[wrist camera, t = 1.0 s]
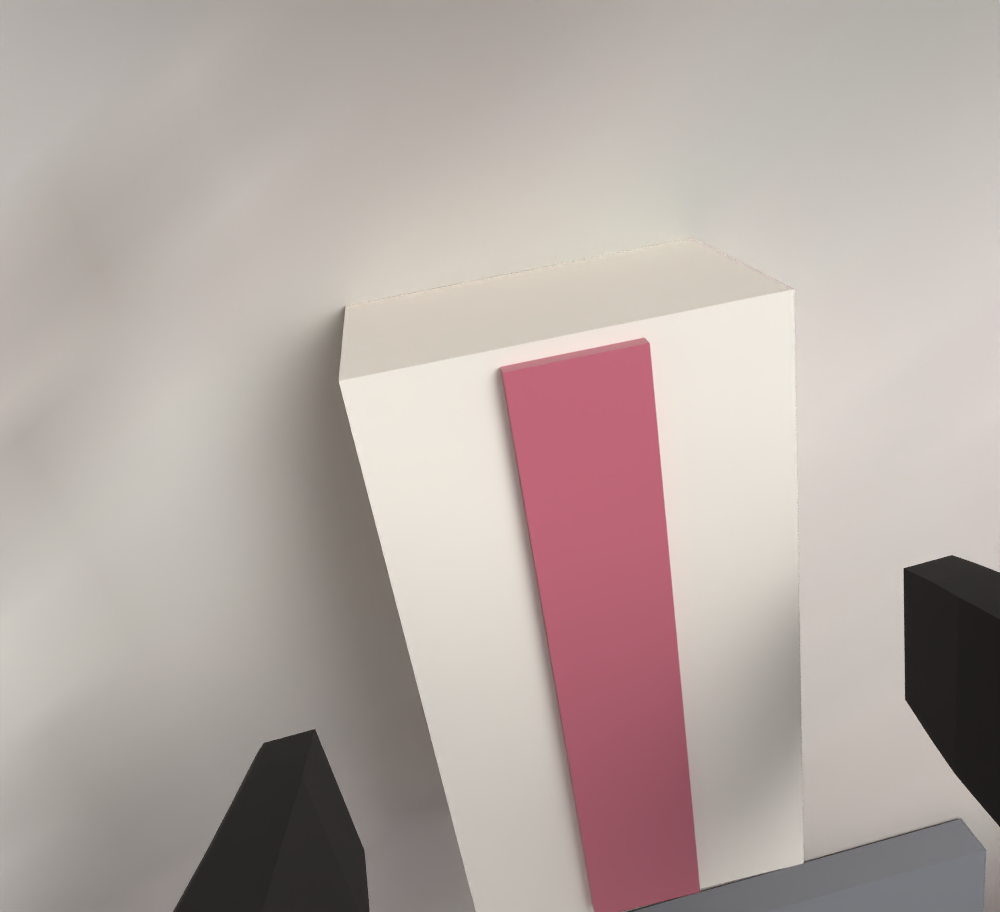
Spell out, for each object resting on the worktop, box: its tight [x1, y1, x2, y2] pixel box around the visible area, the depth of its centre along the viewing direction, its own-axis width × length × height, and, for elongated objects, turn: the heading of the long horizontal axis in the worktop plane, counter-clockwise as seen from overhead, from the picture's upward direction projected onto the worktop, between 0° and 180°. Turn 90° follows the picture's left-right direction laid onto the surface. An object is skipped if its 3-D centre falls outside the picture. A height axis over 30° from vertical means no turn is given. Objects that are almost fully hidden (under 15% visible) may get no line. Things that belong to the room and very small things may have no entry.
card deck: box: [339, 238, 804, 912], centre depth 13 cm, size 5×9×4 cm, turn 9°
